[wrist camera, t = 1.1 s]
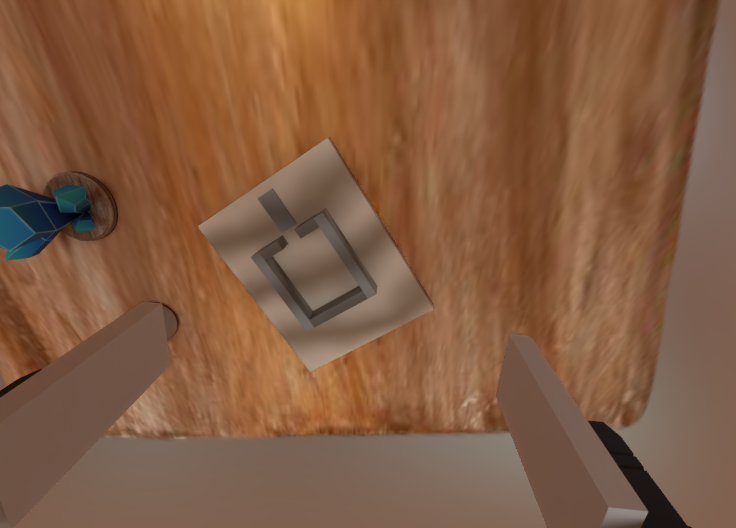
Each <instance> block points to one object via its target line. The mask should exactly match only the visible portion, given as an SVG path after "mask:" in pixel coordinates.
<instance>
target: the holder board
mask: <svg viewBox="0 0 736 528" xmlns="http://www.w3.org/2000/svg"><path fill="white" fill-rule="evenodd" d="M197 227H198V228H199V229H200V231H201V232H202V233H203V234H204V236H205V237H206V238H207V240H208V241H209V242H210V243H211V245H212V246H213V247H214V249H215V250H216V251H217V252H218V254H219V255H220V256H221V258H222V259H223V260H224V262H225V263H226V264H227V265H228V267H229V268H230V269H231V271H232V272H233V273H234V274H235V276H236V277H237V278H238V280H239V281H240V282H241V283H242V285H243V286H244V287H245V289H246V290H247V291H248V292H249V294H250V295H251V296H252V298H253V299H254V300H255V301H256V303H257V304H258V305H259V307H260V308H261V309H262V310H263V312H264V313H265V314H266V316H267V317H268V318H269V319H270V321H271V322H272V323H273V325H274V326H275V327H276V328H277V330H278V331H279V332H280V334H281V335H282V336H283V337H284V339H285V340H286V341H287V343H288V344H289V345H290V346H291V348H292V349H293V350H294V352H295V353H296V354H297V355H298V357H299V358H300V359H301V361H302V362H303V363H304V364H305V366H306V367H307V368H308V370H309V371H310V372H311V371H313V370H315V369H317V368H319V367H321V366H323V365H325V364H327V363H329V362H331V361H333V360H335V359H337V358H339V357H341V356H343V355H345V354H347V353H349V352H351V351H353V350H355V349H357V348H359V347H361V346H363V345H364V344H366V343H368V342H370V341H372V340H374V339H376V338H378V337H380V336H382V335H384V334H386V333H388V332H390V331H392V330H394V329H396V328H398V327H400V326H402V325H404V324H406V323H408V322H410V321H412V320H414V319H416V318H418V317H420V316H422V315H424V314H426V313H428V312H430V311H432V310H433V309H434V306H433V303H432V302H431V300H430V298H429V297H428V295H427V294H426V292H425V290H424V289H423V287H422V286H421V284H420V282H419V281H418V279H417V278H416V276H415V274H414V273H413V271H412V269H411V268H410V266H409V265H408V263H407V261H406V260H405V258H404V257H403V255H402V253H401V252H400V250H399V248H398V247H397V245H396V244H395V242H394V240H393V239H392V237H391V236H390V234H389V232H388V231H387V229H386V227H385V226H384V224H383V223H382V221H381V219H380V218H379V216H378V215H377V213H376V211H375V210H374V208H373V206H372V205H371V203H370V202H369V200H368V198H367V197H366V195H365V194H364V192H363V190H362V189H361V187H360V185H359V184H358V182H357V181H356V179H355V177H354V176H353V174H352V173H351V171H350V169H349V168H348V166H347V164H346V163H345V161H344V160H343V158H342V156H341V155H340V153H339V152H338V150H337V148H336V147H335V145H334V143H333V142H332V140H331V139H330V137H329V138H326V139H325V140H324V141H322V142H321V143H319V144H318V145H316V146H315V147H313V148H312V149H310V150H309V151H307V152H306V153H304V154H303V155H301V156H300V157H299V158H297V159H296V160H294V161H293V162H291V163H290V164H288V165H287V166H285V167H284V168H282V169H281V170H279V171H278V172H277V173H275V174H274V175H272V176H271V177H269V178H268V179H266V180H265V181H263V182H262V183H260V184H259V185H257V186H256V187H255V188H253V189H252V190H250V191H249V192H247V193H246V194H244V195H243V196H241V197H240V198H238V199H237V200H235V201H234V202H233V203H231V204H230V205H228V206H227V207H225V208H224V209H222V210H221V211H219V212H218V213H216V214H215V215H213V216H212V217H211V218H209V219H208V220H206V221H205V222H203V223H202V224H200V225H199V226H197Z"/></svg>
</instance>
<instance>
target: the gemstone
mask: <svg viewBox="0 0 736 528" xmlns="http://www.w3.org/2000/svg"><path fill="white" fill-rule="evenodd" d="M116 220H117V210H116V206H115V202H114V200H113V198H112V196H111V194H110V193H109V191H108V190H107V189H106V188H105V187H104V186H103V184H101V183H100V182H99V181H98V180H96V179H95V178H93V177H91V176H89V175H87V174H84V173H81V172H65V173H61V174H58V175H56V176H54V177H53V178H51V179H50V181H49V182H48V183H47V185H46V187H45V191H44V195H41V194H37V193H34V192H31V191H28V190H25V189H21V188H18V187H15V186H12V185H8V184H6V185H4V186H1V187H0V247H1V248H3V249H5V250H7V253H6V257H5V260H14V259H23V258H30V257H32V256H35V255H37V254H39V253H40V252H41V251H42V250H43V249H44V248H45V247H46V246H47V245H48V244H49V243H50V242H51V241H52V240H53V238H54V237H55V236H56V235H57V234H58V233H59V232H60V231H62V232H64V233H65V234H67V235H68V236H70V237H72V238H75V239H78V240H82V241H94V240H98V239H101V238H103V237H105V236H107V235H108V234H109V233H110V232H111V231H112V230H113V228H114V226H115V224H116Z"/></svg>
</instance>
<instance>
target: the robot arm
mask: <svg viewBox="0 0 736 528" xmlns="http://www.w3.org/2000/svg"><path fill="white" fill-rule="evenodd" d="M170 364H171V363H170V356H169V349H168V342H167V335H166V328H165V321H164V314H163V307H162V303H153V302H141V303H140V304H138V305H137V306H135V307H134V308H132V309H131V310H129V311H128V312H126V313H125V314H123V315H122V316H120V317H119V318H117V319H116V320H115V321H113V322H112V323H110V324H109V325H107V326H106V327H104V328H103V329H101V330H100V331H98V332H97V333H95V334H94V335H92V336H91V337H89V338H88V339H86V340H85V341H83V342H82V343H80V344H79V345H78V346H76V347H75V348H73V349H72V350H70V351H69V352H67V353H66V354H64V355H63V356H61V357H60V358H58V359H57V360H55V361H54V362H52V363H51V364H49V365H48V366H46V367H45V368H43V369H39V370H37V371H35V372H33V373H30V374H28V375H26V376H24V377H21V378H19V379H17V380H16V381H14V382H13V383H11V384H10V385H8V386H7V387H5V388H4V389H2V390H1V391H0V528H14V527H15V526H16V525H17V524H18V523H19V522H20V521H21V519H23V518H24V516H25V515H26V514H27V513H28V512H29V511H30V510H31V509H32V508H33V507H34V506H35V505H36V504H37V503H38V502H39V501H40V500H41V499H42V498H43V497H44V496H45V495H46V494H47V493H48V491H49V490H50V489H51V488H52V487H53V486H54V485H55V484H56V483H57V482H58V481H59V480H60V479H61V478H62V477H63V476H64V475H65V474H66V473H67V472H68V471H69V470H70V469H71V468H72V466H73V465H74V464H75V463H76V462H77V461H78V460H79V459H80V458H81V457H82V456H83V455H84V454H85V453H86V452H87V451H88V450H89V449H90V448H91V447H92V446H93V445H94V443H95V442H96V441H97V440H98V439H99V438H100V437H101V436H102V435H103V434H104V433H105V432H106V431H107V430H108V429H109V428H110V427H111V426H112V425H113V424H114V423H115V422H116V421H117V420H118V419H119V418H120V417H121V415H122V414H123V413H124V412H125V411H126V410H127V409H128V408H129V407H130V406H131V405H132V404H133V403H134V402H135V401H136V400H137V399H138V398H139V397H140V396H141V395H142V394H143V393H144V392H145V390H146V389H147V388H148V387H149V386H150V385H151V384H152V383H153V382H154V381H155V380H156V379H157V378H158V377H159V376H160V375H161V374H162V373H163V372H164V371H165V370H166V369H167V368H168V367H169V365H170ZM496 397H497V400H498V402H499V405H500V407H501V410H502V413H503V415H504V418H505V420H506V423H507V425H508V428H509V431H510V433H511V436H512V438H513V441H514V443H515V446H516V449H517V451H518V454H519V456H520V459H521V462H522V464H523V467H524V469H525V472H526V474H527V477H528V480H529V482H530V485H531V487H532V490H533V492H534V495H535V498H536V500H537V503H538V505H539V508H540V510H541V513H542V516H543V518H544V521H545V523H546V526H547V528H692V527H689V526H687V525H686V524H685V522H684V521H683V520H682V518H681V517H680V516H679V514H678V513H677V511H676V510H675V509H674V508H673V506H672V505H671V504H670V502H669V501H668V500H667V498H666V497H665V495H664V494H663V493H662V491H661V490H660V489H659V487H658V486H657V485H656V483H655V482H654V481H653V479H652V478H651V477H650V475H649V474H648V473H647V471H644V469H643V468H644V467H643V466H642V464H641V463H640V462H639V460H638V459H637V458H636V457H634V456H633V453H632V451H631V450H630V449H629V447H628V446H627V444H626V443H625V442H624V440H623V439H622V438H621V437H620V436H619V435H618V434H617V433H616V432H614V431H613V430H612V429H611V428H610V427H608V426H607V425H606V424H605V423H604V422H597V421H587V419H586V418H585V416H584V415H583V413H582V412H581V410H580V409H579V407H578V406H577V404H576V403H575V401H574V400H573V398H572V397H571V395H570V394H569V392H568V391H567V390H566V388H565V387H564V385H563V384H562V382H561V381H560V379H559V378H558V376H557V375H556V373H555V372H554V370H553V369H552V367H551V366H550V364H549V363H548V361H547V360H546V358H545V357H544V355H543V354H542V352H541V351H540V349H539V348H538V346H537V345H536V343H535V342H534V340H533V339H532V337H531V336H526V335H514V334H509V338H508V343H507V347H506V352H505V356H504V361H503V365H502V370H501V374H500V379H499V383H498V387H497V392H496Z"/></svg>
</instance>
